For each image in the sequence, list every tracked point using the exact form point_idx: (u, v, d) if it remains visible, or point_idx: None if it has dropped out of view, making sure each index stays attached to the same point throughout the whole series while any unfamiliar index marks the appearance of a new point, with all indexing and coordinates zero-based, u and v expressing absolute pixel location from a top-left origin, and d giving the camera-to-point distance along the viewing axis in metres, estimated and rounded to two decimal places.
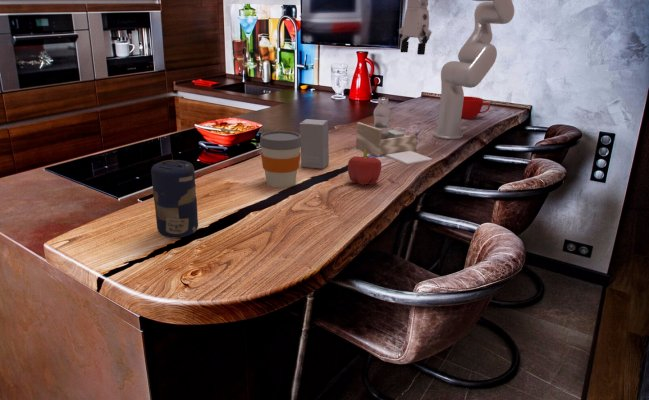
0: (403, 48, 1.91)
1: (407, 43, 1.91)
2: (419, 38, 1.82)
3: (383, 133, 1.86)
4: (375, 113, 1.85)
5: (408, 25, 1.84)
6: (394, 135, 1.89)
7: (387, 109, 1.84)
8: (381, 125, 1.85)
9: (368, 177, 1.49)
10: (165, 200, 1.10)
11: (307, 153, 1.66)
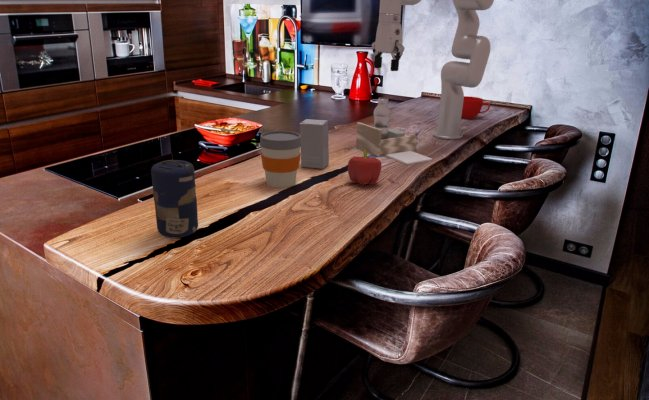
0: (376, 64, 1.83)
1: (380, 58, 1.83)
2: (392, 54, 1.74)
3: (383, 133, 1.86)
4: (375, 113, 1.85)
5: (381, 41, 1.76)
6: (395, 134, 1.89)
7: (387, 109, 1.84)
8: (381, 125, 1.85)
9: (368, 177, 1.49)
10: (165, 200, 1.10)
11: (307, 153, 1.66)
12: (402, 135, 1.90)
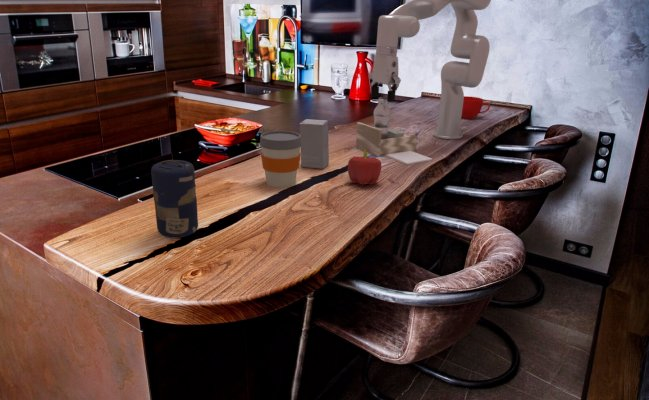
0: (373, 93, 1.86)
1: (377, 88, 1.87)
2: (388, 85, 1.78)
3: (383, 133, 1.86)
4: (375, 113, 1.85)
5: (377, 72, 1.80)
6: (394, 134, 1.89)
7: (387, 109, 1.84)
8: (381, 125, 1.85)
9: (368, 177, 1.49)
10: (165, 200, 1.10)
11: (307, 153, 1.66)
12: (401, 135, 1.90)
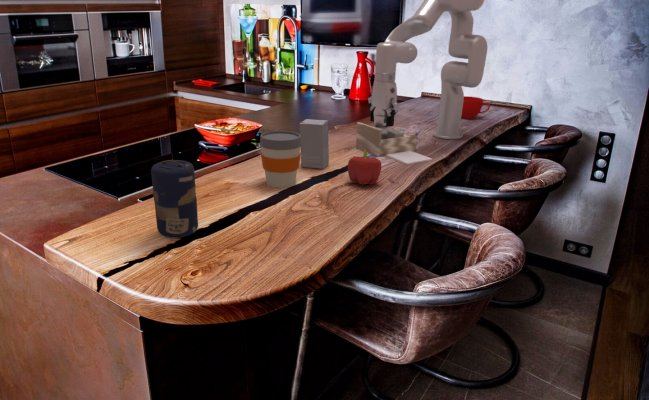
0: (373, 117, 1.90)
1: None
2: (387, 111, 1.81)
3: (383, 133, 1.86)
4: (375, 113, 1.85)
5: (376, 97, 1.83)
6: (394, 134, 1.89)
7: None
8: (381, 125, 1.85)
9: (368, 177, 1.49)
10: (165, 200, 1.10)
11: (307, 153, 1.66)
12: (401, 135, 1.89)
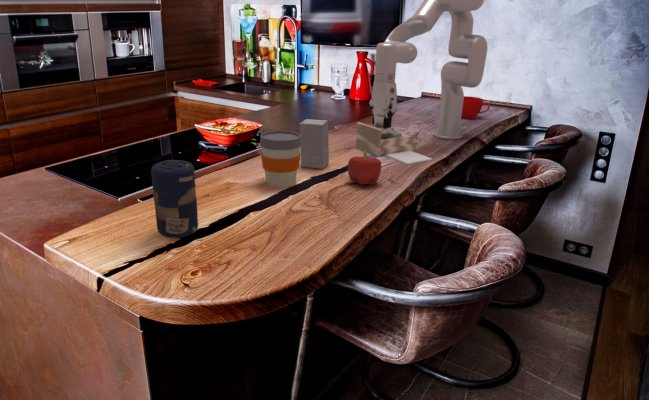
0: None
1: None
2: (385, 112, 1.83)
3: (383, 133, 1.86)
4: (375, 113, 1.85)
5: (376, 97, 1.83)
6: (392, 135, 1.88)
7: None
8: (381, 125, 1.85)
9: (368, 177, 1.49)
10: (165, 200, 1.10)
11: (307, 153, 1.66)
12: (399, 136, 1.89)
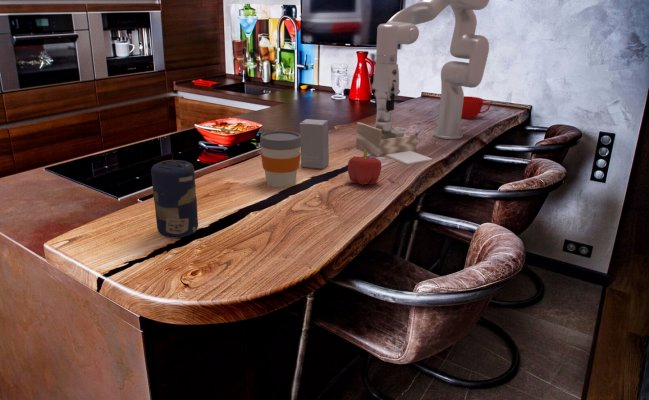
0: None
1: None
2: (387, 95, 1.81)
3: (385, 116, 1.85)
4: (377, 96, 1.83)
5: (378, 80, 1.81)
6: (394, 134, 1.89)
7: None
8: (384, 108, 1.83)
9: (368, 177, 1.49)
10: (165, 200, 1.10)
11: (307, 153, 1.66)
12: (401, 135, 1.90)
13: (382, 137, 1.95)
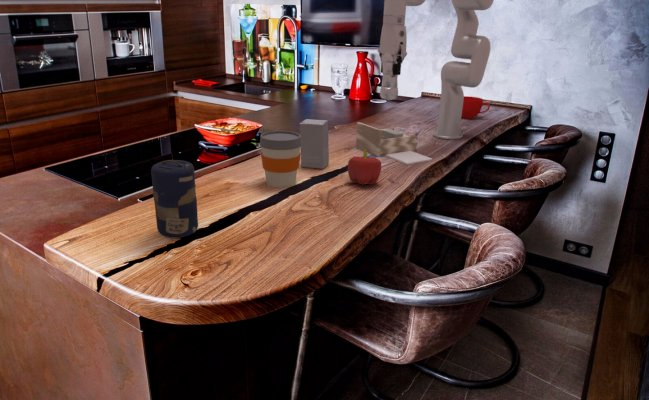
0: None
1: None
2: (394, 58, 1.74)
3: (391, 81, 1.78)
4: (383, 59, 1.76)
5: (385, 42, 1.75)
6: (394, 135, 1.88)
7: None
8: (390, 72, 1.76)
9: (368, 177, 1.49)
10: (165, 200, 1.10)
11: (307, 153, 1.66)
12: (400, 135, 1.90)
13: (381, 137, 1.94)
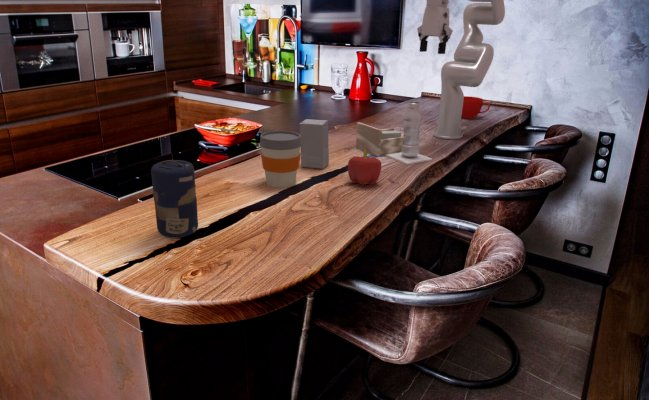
0: (422, 47, 1.87)
1: (426, 42, 1.87)
2: (440, 37, 1.78)
3: (413, 139, 1.76)
4: (405, 118, 1.75)
5: (428, 24, 1.80)
6: (399, 134, 1.91)
7: (418, 114, 1.74)
8: (411, 131, 1.75)
9: (368, 177, 1.49)
10: (165, 200, 1.10)
11: (307, 153, 1.66)
12: None
13: None
